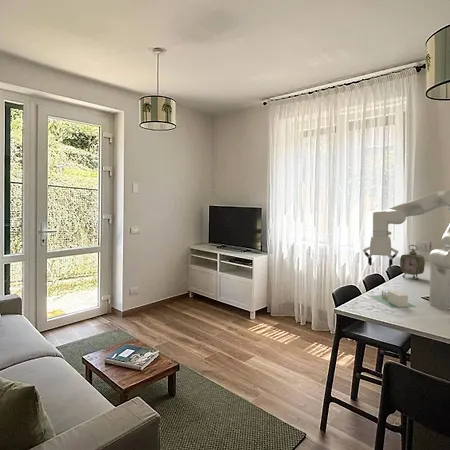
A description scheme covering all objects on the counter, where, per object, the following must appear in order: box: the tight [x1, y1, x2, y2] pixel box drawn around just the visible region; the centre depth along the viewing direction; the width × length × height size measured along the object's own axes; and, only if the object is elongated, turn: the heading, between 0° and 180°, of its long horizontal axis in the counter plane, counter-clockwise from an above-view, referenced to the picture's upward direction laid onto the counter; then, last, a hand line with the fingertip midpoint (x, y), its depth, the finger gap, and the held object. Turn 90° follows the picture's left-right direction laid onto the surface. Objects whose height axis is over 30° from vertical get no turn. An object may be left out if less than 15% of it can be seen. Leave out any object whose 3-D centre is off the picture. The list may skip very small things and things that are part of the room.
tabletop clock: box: [399, 244, 426, 281], centre depth 257 cm, size 14×9×25 cm, turn 28°
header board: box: [369, 290, 417, 309], centre depth 195 cm, size 14×24×5 cm, turn 6°
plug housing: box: [387, 290, 409, 308], centre depth 189 cm, size 5×10×6 cm, turn 6°
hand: (380, 265), depth 184 cm, fingers open, 9 cm apart
